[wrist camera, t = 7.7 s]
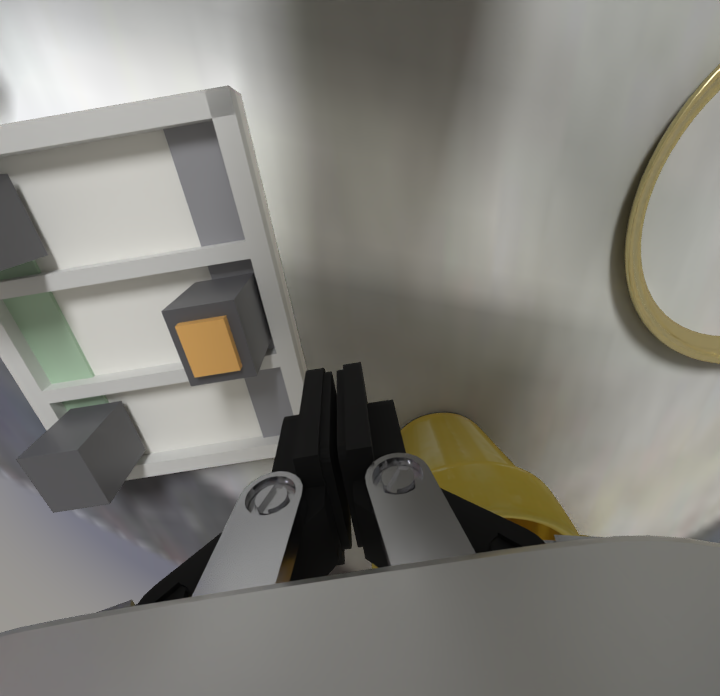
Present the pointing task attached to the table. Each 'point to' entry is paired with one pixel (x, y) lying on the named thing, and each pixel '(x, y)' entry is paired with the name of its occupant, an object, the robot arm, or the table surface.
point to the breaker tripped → (219, 329)
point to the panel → (145, 273)
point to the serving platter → (679, 337)
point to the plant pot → (484, 474)
